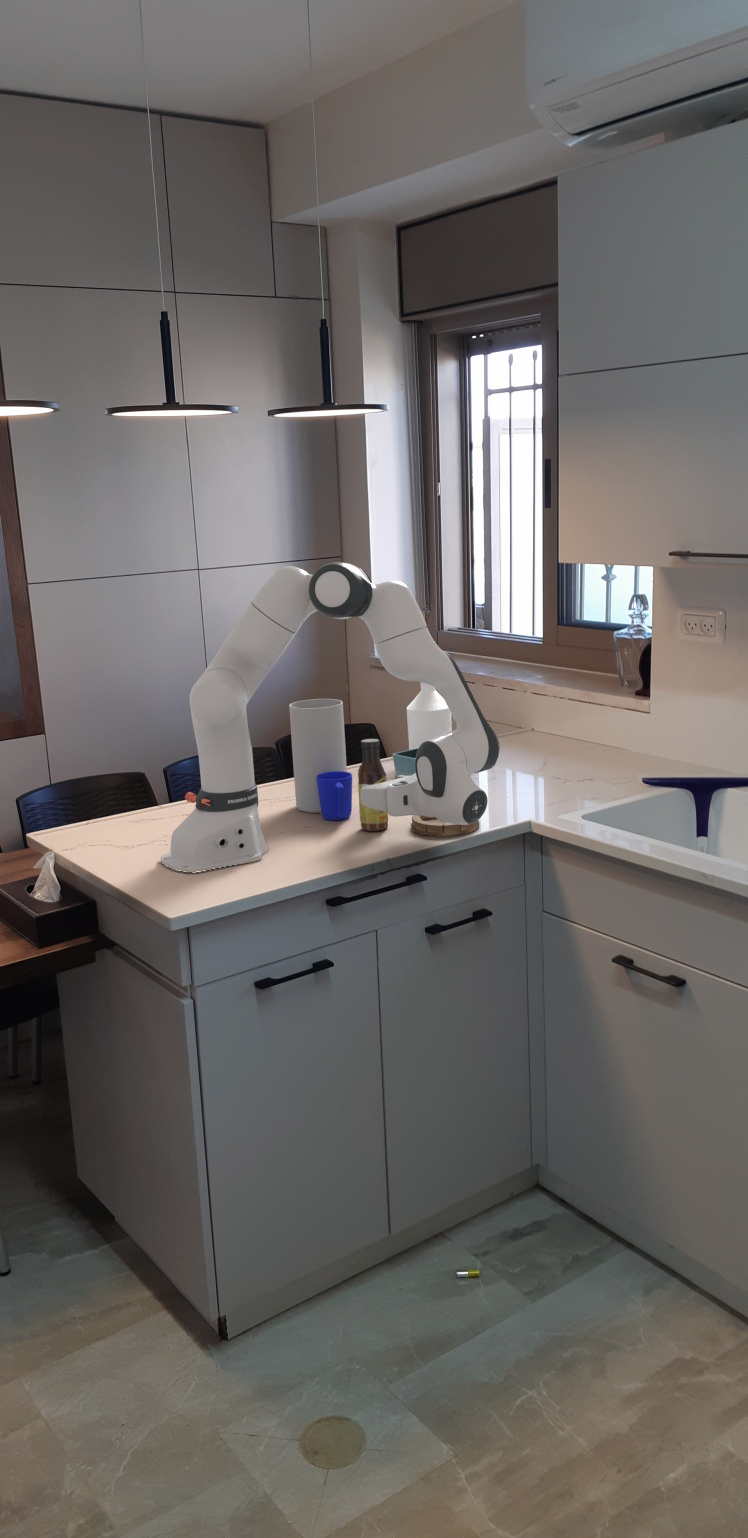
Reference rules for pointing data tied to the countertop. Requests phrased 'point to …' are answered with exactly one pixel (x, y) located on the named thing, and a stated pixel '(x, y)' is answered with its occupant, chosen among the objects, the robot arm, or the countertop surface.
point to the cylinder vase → (316, 746)
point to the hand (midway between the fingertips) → (381, 783)
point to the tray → (440, 827)
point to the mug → (335, 794)
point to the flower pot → (405, 762)
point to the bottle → (427, 716)
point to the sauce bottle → (372, 774)
